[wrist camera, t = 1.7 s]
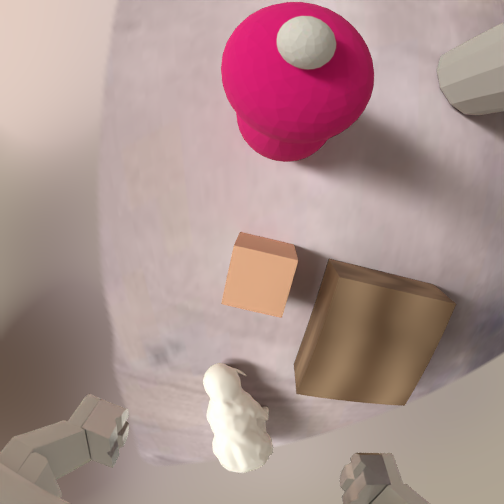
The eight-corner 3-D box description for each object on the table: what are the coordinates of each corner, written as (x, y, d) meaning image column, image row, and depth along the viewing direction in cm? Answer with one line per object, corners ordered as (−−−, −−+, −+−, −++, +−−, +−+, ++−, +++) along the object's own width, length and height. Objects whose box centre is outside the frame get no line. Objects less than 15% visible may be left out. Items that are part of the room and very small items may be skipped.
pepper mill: (336, 145, 27) (463, 116, 7) (260, 174, 28) (237, 196, 8) (304, 72, 25) (359, -69, 6) (229, 100, 26) (148, -10, 7)
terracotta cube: (293, 244, 29) (298, 260, 25) (280, 294, 31) (281, 317, 26) (240, 231, 29) (233, 245, 24) (228, 282, 31) (221, 303, 26)
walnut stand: (433, 284, 29) (456, 303, 25) (391, 378, 33) (404, 405, 28) (328, 258, 29) (339, 277, 25) (293, 364, 33) (296, 393, 28)
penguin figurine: (217, 482, 28) (171, 400, 26) (228, 434, 36) (194, 356, 34) (275, 476, 27) (239, 390, 25) (277, 426, 35) (248, 345, 33)
